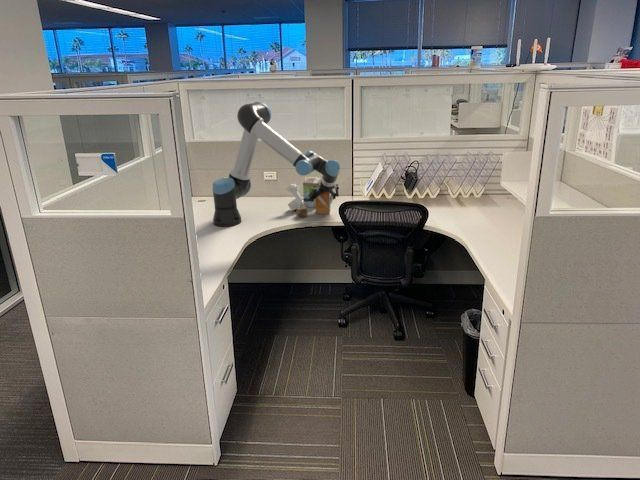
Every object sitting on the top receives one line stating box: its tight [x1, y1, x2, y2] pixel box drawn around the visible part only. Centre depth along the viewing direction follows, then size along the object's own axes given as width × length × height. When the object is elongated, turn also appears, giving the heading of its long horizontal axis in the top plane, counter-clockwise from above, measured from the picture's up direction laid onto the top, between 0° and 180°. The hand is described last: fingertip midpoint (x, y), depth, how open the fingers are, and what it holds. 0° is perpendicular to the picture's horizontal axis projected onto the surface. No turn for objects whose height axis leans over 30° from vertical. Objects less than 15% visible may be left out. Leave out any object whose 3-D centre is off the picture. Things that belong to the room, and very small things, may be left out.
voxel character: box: [285, 183, 304, 212], centre depth 272 cm, size 7×12×15 cm
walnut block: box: [296, 205, 308, 219], centre depth 262 cm, size 5×5×5 cm
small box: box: [315, 190, 332, 215], centre depth 266 cm, size 8×6×13 cm
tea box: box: [302, 177, 322, 208], centre depth 284 cm, size 15×10×15 cm, turn 171°
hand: (321, 202), depth 269 cm, fingers closed on small box, 9 cm apart
